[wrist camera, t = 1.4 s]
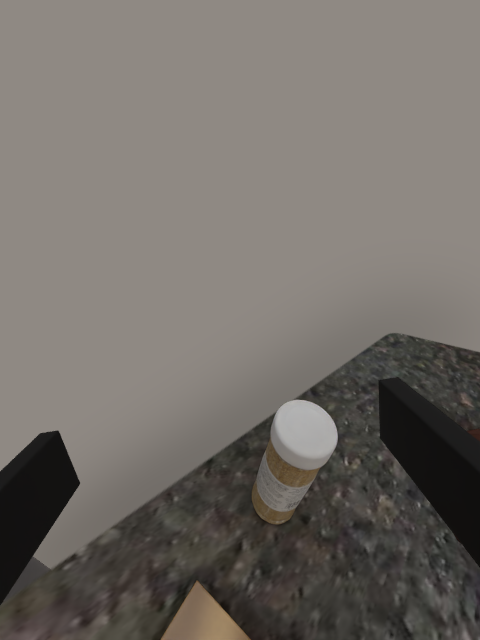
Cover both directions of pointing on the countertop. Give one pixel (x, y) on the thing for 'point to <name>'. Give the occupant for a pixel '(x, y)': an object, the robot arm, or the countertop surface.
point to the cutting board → (202, 619)
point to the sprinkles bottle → (292, 458)
